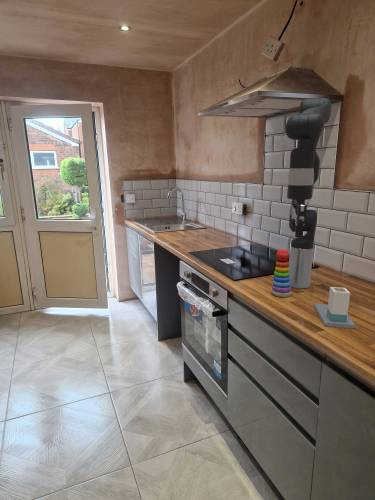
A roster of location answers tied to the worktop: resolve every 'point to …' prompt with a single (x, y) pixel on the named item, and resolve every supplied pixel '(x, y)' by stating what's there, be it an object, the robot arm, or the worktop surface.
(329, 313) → the sleeve
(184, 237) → the worktop surface
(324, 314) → the pin board
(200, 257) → the worktop surface
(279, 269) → the stacking toy
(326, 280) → the worktop surface
